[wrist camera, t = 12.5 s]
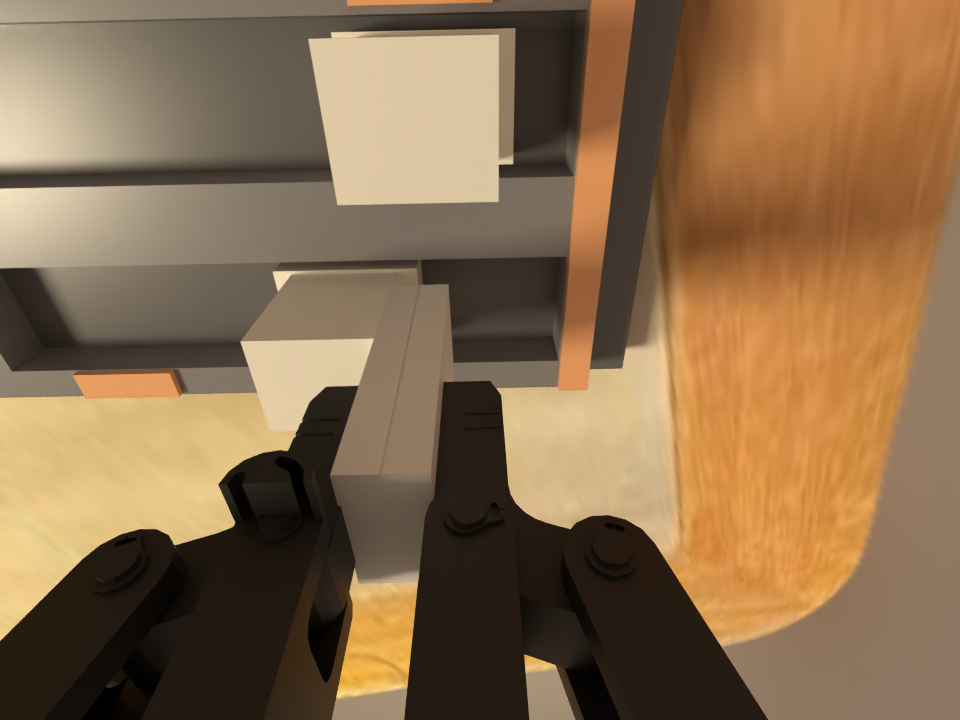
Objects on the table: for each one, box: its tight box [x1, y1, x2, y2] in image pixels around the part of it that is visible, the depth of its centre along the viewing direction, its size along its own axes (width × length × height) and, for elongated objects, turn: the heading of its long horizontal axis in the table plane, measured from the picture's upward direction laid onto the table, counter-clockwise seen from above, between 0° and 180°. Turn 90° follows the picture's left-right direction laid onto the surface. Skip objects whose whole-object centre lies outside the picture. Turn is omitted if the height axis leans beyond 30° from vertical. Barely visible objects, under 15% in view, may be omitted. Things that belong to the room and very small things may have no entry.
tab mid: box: [308, 28, 515, 205], centre depth 11 cm, size 4×3×5 cm
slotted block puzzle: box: [0, 0, 684, 398], centre depth 12 cm, size 22×17×3 cm
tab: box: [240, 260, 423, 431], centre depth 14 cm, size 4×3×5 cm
